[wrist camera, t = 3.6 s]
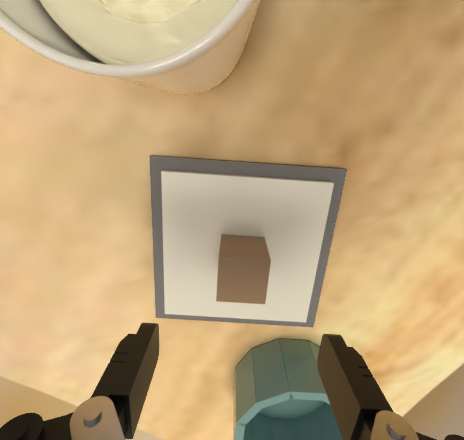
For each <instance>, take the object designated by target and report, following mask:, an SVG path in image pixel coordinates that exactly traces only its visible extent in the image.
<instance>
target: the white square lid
mask: <svg viewBox="0 0 464 440" xmlns="http://www.w3.org/2000/svg"><path fill="white" fill-rule="evenodd" d="M161 182H162V223H163V264H164V305H165V314H174V315H190V316H207V317H223V318H240V319H256V320H273V321H289V322H305V323H306V321H307V316H308V311H309V306H310V301H311V296H312V291H313V286H314V281H315V276H316V271H317V266H318V261H319V256H320V251H321V246H322V241H323V236H324V231H325V226H326V221H327V216H328V211H329V206H330V201H331V196H332V191H333V186H334V183H333V182H330V181H316V180H301V179H286V178H272V177H257V176H243V175H228V174H213V173H199V172H184V171H170V170H163V171H161Z"/></svg>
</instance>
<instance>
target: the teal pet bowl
mask: <svg viewBox="0 0 464 440" xmlns="http://www.w3.org/2000/svg"><path fill="white" fill-rule="evenodd" d="M319 349H320V347H319V346H317V345H316V344H314V343H312V342H310V341H309V340H294V339H276V340H274V341H271V342H268V343H266V344H263V345H260V346H257V347H255V348H252V349H251V350H250V351H249V352H248V353H247V355H246V356H245V357H244V358H243V359H242V360H241V361H240V362H239V363H238V365H237V366H236V368H235V378H234V440H343V439H342V436H341V433H340V430H339V427H338V425H337V422H336V419H335V416H334V414H333V411H332V408H331V405H330V402H329V400H328V397H327V394H326V391H325V388H324V386H323V383H322V380H321V377H320V374H319V371H318V366H317V357H318V353H319Z"/></svg>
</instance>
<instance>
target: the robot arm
mask: <svg viewBox="0 0 464 440" xmlns="http://www.w3.org/2000/svg"><path fill="white" fill-rule="evenodd" d="M158 355H159V325H158V324H156V323H142V324H141V325H140V328H139V330H138V332H137V334H128V335H127V336H126V337H125V338H124V339H123V340H122V341H121V342H120V343H119V345H118V347H117V349H116V350H115V353H114V354H113V356H112V358H111V360H110V363H109V364H108V366H107V368H106V370H105V372H104V373H103V375H102V377H101V379H100V381H99V383H98V385H97V387H96V389H95V391H94V393H93V394H92V396H91V398H90V399H88V400H86V401H85V402H83V403H82V404H81V405H80V406H79V407H78V408H77V409H76V410H75V411H74V412H73V413H70V414H68V415H65V416H61V417H58V418H54V419H51V420H47V421H43V419H42V417H41V416H40V415H38V414H36V413H26V414H22V415H20V416H17V417H15V418H13V419H12V420H10V421H9V422H7V423H6V424H5V425H3V426H2V427H1V428H0V440H125V439H133V436H134V433H135V430H136V427H137V424H138V421H139V417H140V414H141V411H142V408H143V405H144V402H145V399H146V395H147V392H148V389H149V386H150V383H151V380H152V377H153V373H154V370H155V367H156V364H157V360H158ZM317 366H318V371H319V374H320V377H321V380H322V383H323V386H324V388H325V391H326V394H327V397H328V400H329V402H330V405H331V408H332V411H333V414H334V416H335V419H336V422H337V425H338V427H339V430H340V433H341V436H342V439H343V440H436V439H433V438H430V437H428V436H425V435H422V434H420V433H417V432H415V430H414V429H413V427H412V426H411V425H410V424H409V423H408V422H407V421H406V420H405V419H404V418H403V417H401V416H400V415H398V414H396V413H394V412H393V410H392V408H391V407H390V405H389V403H388V401H387V400H386V398H385V396H384V394H383V393H382V391H381V389H380V387H379V386H378V384H377V382H376V380H375V379H374V378H373V375H372V373H371V372H370V370H369V369H368V366H367V365H366V363H365V361H364V359H363V358H362V356H361V355H360V354H359V353H358V352H357V351H356V350H355V349H354V348H353V347H347V345H346V344H345V342H344V340H343V338H342V336H341V335H334V334H324V335H323V337H322V341H321V345H320V349H319V353H318V357H317ZM444 440H464V437H462V436H459V435H448V436H446V438H445V439H444Z"/></svg>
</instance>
